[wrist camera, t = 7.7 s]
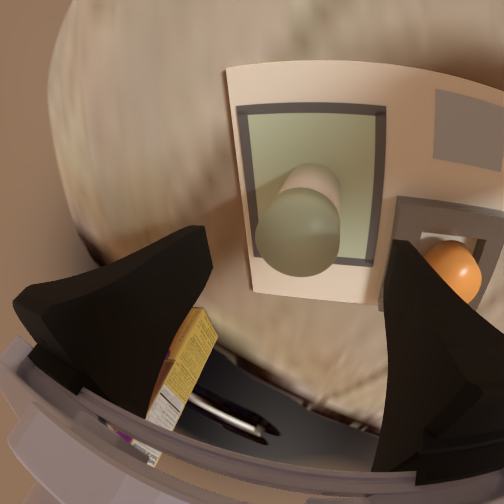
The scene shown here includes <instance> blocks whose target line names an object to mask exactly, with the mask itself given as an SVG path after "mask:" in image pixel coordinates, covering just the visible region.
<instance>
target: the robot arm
mask: <svg viewBox="0 0 504 504" xmlns="http://www.w3.org/2000/svg"><path fill="white" fill-rule="evenodd" d="M212 269H213V265H212V260H211V255H210V251H209V246H208V241H207V236H206V232H205V227H204V226H196V225H191V226H188V227H185V228H183V229H180V230H178V231H176V232H174V233H172V234H170V235H168V236H166V237H164V238H162V239H160V240H158V241H156V242H154V243H152V244H151V245H149V246H147V247H145V248H143V249H141V250H138V251H136V252H134V253H132V254H130V255H128V256H126V257H124V258H122V259H120V260H117V261H115V262H113V263H110V264H108V265H105V266H103V267H100V268H97V269H94V270H91V271H88V272H85V273H82V274H79V275H76V276H72V277H69V278H65V279H60V280H56V281H51V282H45V283H39V284H33V285H30V286H28V287H26V288H25V289H24V290H23V291H22V292H21V293H20V294H19V295H18V296H17V297H16V298H15V299H14V300H13V307H14V310H15V312H16V314H17V316H18V317H19V319H20V321H21V322H22V323H23V325H24V326H25V327H26V329H27V331H28V332H29V333H30V335H31V336H32V337H33V339H34V340H35V341H36V343H37V345H36V346H35V347H34V348H33V347H32V346H31V345H30V344H29V343H28V342H27V341H26V340H24V339H23V338H22V337H21V336H17V337H16V338H15V339H14V340H13V342H12V343H11V344H10V345H9V346H8V348H7V349H6V350H5V351H4V353H3V354H2V355H1V356H0V391H1V392H2V394H3V395H4V397H5V399H6V400H7V402H8V404H9V405H10V407H11V408H12V410H13V412H14V413H15V415H16V416H17V418H18V419H19V421H18V422H17V424H16V425H15V427H14V428H13V430H12V432H11V433H10V435H9V436H8V438H7V441H8V444H9V447H10V448H11V450H12V452H13V453H14V455H15V456H16V457H17V459H18V460H19V461H20V462H21V463H22V464H23V466H25V468H26V469H27V470H28V471H29V472H30V473H31V474H32V475H33V476H34V478H35V479H36V480H35V482H34V483H33V485H32V487H31V489H30V490H29V492H28V494H27V496H26V498H25V500H24V502H23V503H22V504H252V503H248V502H244V501H240V500H237V499H234V498H230V497H227V496H224V495H221V494H218V493H215V492H212V491H209V490H206V489H204V488H201V487H198V486H196V485H193V484H190V483H188V482H185V481H183V480H181V479H178V478H176V477H174V476H171V475H169V474H167V473H165V472H162V471H160V470H158V469H156V468H154V467H152V466H150V465H148V464H147V463H148V461H149V459H150V458H149V456H148V455H147V454H145V453H143V452H142V451H140V450H139V449H137V448H135V447H134V446H133V445H131V444H130V443H129V442H127V441H126V440H125V439H124V438H122V437H121V436H120V435H119V434H117V433H116V432H114V431H113V430H111V429H110V428H108V425H110V426H111V427H113V428H115V429H117V430H118V431H120V432H122V433H124V434H126V435H127V436H129V437H131V438H133V439H135V440H137V441H139V442H141V443H143V444H145V445H147V446H149V447H151V448H154V449H156V450H158V451H160V452H162V453H165V454H167V455H169V456H172V457H174V458H176V459H179V460H182V461H184V462H186V463H189V464H192V465H195V466H197V467H200V468H203V469H206V470H209V471H212V472H215V473H218V474H221V475H224V476H228V477H231V478H235V479H238V480H242V481H246V482H250V483H254V484H258V485H262V486H267V487H272V488H277V489H282V490H288V491H294V492H300V493H308V494H316V495H326V496H339V497H360V498H315V497H314V498H313V497H310V498H309V499H307V500H306V504H504V334H503V333H502V332H500V331H499V330H498V329H496V328H495V327H494V326H493V325H491V324H490V323H489V322H488V321H487V320H485V319H484V318H483V317H482V316H480V315H479V314H478V313H477V312H476V311H475V310H473V309H472V308H471V307H470V306H469V305H468V304H467V303H466V302H465V301H464V300H463V299H462V298H461V297H460V296H459V295H458V294H457V293H456V292H455V291H454V290H453V289H452V288H451V287H450V286H449V285H448V284H447V283H446V282H445V281H444V280H443V279H442V278H441V277H440V275H439V274H438V273H437V272H436V271H435V270H434V269H433V268H432V266H431V265H430V264H429V263H428V262H427V261H426V260H425V258H424V257H423V256H422V255H421V254H420V253H419V252H418V250H417V249H416V248H415V247H414V246H413V245H412V244H411V243H410V242H409V241H407V240H396V239H392V245H391V250H390V255H389V260H388V265H387V270H386V275H385V279H384V284H383V308H384V318H385V328H386V338H387V351H388V378H387V390H386V399H385V407H384V415H383V421H382V426H381V432H380V437H379V442H378V446H377V450H376V455H375V458H374V463H373V466H372V469H371V472H352V471H337V470H326V469H317V468H309V467H302V466H295V465H289V464H284V463H279V462H274V461H269V460H264V459H260V458H255V457H251V456H247V455H243V454H239V453H235V452H232V451H228V450H225V449H221V448H218V447H215V446H212V445H209V444H206V443H202V442H200V441H197V440H194V439H191V438H188V437H186V436H183V435H180V434H177V433H175V432H173V431H170V430H168V429H165V428H163V427H160V426H158V425H156V424H153V423H151V422H149V421H147V420H145V419H146V415H147V411H148V407H149V404H150V400H151V396H152V393H153V390H154V387H155V384H156V381H157V378H158V375H159V372H160V370H161V367H162V365H163V362H164V360H165V357H166V355H167V353H168V350H169V348H170V346H171V344H172V342H173V339H174V337H175V335H176V333H177V332H178V330H179V328H180V326H181V325H182V323H183V321H184V320H185V318H186V317H187V315H188V313H189V312H190V310H191V309H192V307H193V305H194V304H195V302H196V301H197V299H198V297H199V296H200V294H201V292H202V291H203V289H204V287H205V285H206V283H207V281H208V279H209V276H210V274H211V271H212ZM107 424H108V425H107Z"/></svg>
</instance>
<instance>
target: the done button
mask: <svg viewBox="0 0 504 504" xmlns="http://www.w3.org/2000/svg"><path fill="white" fill-rule="evenodd" d="M423 257H424V258H425V260H426V261H427V262H428V263H429V264H430V265H431V266H432V268H433V269H434V270H435V271H436V272H437V273H438V274H439V275H440V277H441V278H442V279H443V280H444V281H445V282H446V283H447V284H448V285H449V286H450V287H451V288H452V289H453V290H454V291H455V292H456V293H457V294H458V295H459V296H460V297H461V298H462V299H463V300H464V301H465V302H466V303H467V304H468V303H469V302H470V301H471V300H472V299H473V298H474V297H475V296H476V294H477V293H478V291H479V288H480V286H481V280H482V276H481V271H480V269H479V267H478V265H477V263H476V261H475V259H474V258H473V256H472V254H471V252H470V250H469V249H468V247H467V246H466V245H465V244H463V243H462V242H459V241H456V240H446V241H442V242H439V243H437V244H435V245H434V246H432V247H431V248H430V249H429V250H428V251H427V252H426V253H425V254H424V255H423Z"/></svg>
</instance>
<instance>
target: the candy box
mask: <svg viewBox="0 0 504 504" xmlns="http://www.w3.org/2000/svg"><path fill="white" fill-rule="evenodd" d="M217 338H218V335H217V333H216V331H215V329H214V327H213V325H212V323H211V321H210V319H209V317H208V315H207V313H206V311H205V310H204V309H203V308H192V309H191V310H190V312H189V313H188V315H187V317H186V318H185V320H184V321H183V323H182V325H181V326H180V328H179V330H178V332H177V333H176V335H175V337H174V339H173V342H172V344H171V346H170V348H169V350H168V353H167V355H166V357H165V360H164V362H163V365H162V367H161V370H160V372H159V375H158V378H157V381H156V384H155V387H154V390H153V393H152V396H151V400H150V404H149V407H148V411H147V415H146V419H145V420H147V421H149V422H151V423H153V424H156V425H158V426H160V427H163V428H165V429H168V430H170V431H173V429H174V427H175V425H176V423H177V421H178V419H179V417H180V415H181V413H182V411H183V409H184V406H185V404H186V402H187V400H188V398H189V396H190V394H191V392H192V390H193V388H194V386H195V384H196V382H197V380H198V378H199V376H200V373H201V371H202V369H203V367H204V365H205V362H206V360H207V359H208V356H209V354H210V352H211V350H212V348H213V346H214V344H215V342H216V340H217ZM107 425H108V424H107ZM108 428H110V429H111V430H113V431H114V432H116V433H117V434H119V435H120V436H121V437H122V438H124V439H125V440H126V441H127V442H129V443H130V444H131V445H133V446H134V447H135V448H137V449H139V450H140V451H142V452H143V453H145V454H147V455H148V456H149V458H150V459H149V461H148V463H147V464H148V465H150V466H152V467H154V468H155V466H156V464H157V462H158V460H159V458H160V456H161V454H162V452H160V451H158V450H156V449H154V448H151V447H149V446H147V445H145V444H143V443H141V442H139V441H137V440H135V439H133V438H131V437H129V436H127V435H126V434H124V433H122V432H120V431H118V430H117V429H115V428H113V427H111V426H110V425H108Z"/></svg>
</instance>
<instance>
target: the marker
mask: <svg viewBox="0 0 504 504" xmlns="http://www.w3.org/2000/svg"><path fill="white" fill-rule="evenodd" d="M339 205H340V185H339V182H338V179H337V177H336V176H335V174H334V173H333V172H332V171H331V170H330V169H328V168H327V167H325V166H323V165H321V164H317V163H306V164H302V165H300V166H298V167H296V168H295V169H294V170H292V172H291V173H290V174H289V176H288V177H287V179H286V181H285V183H284V184H283V186H282V188H281V189H280V191H279V193H278V195H277V196H275V197H274V199H273V200H272V201H271V202H270V204H269V206H268V207H267V209H266V211H265V212H264V214H263V216H262V217H261V219H260V221H259V222H258V225H257V227H256V231H255V242H256V246H257V249H258V251H259V253H260V255H261V257H262V258H263V259H264V261H265V262H266V263H267V264H268V265H269V266H271V267H272V268H273V269H275V270H277V271H278V272H280V273H283V274H285V275H289V276H293V277H310V276H314V275H317V274H320V273H322V272H323V271H325V270H326V269H328V268H329V267H330V266H331V265H332V264H333V262H334V261H335V259H336V257H337V255H338V252H339V245H340V227H341V221H340V216H339Z"/></svg>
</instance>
